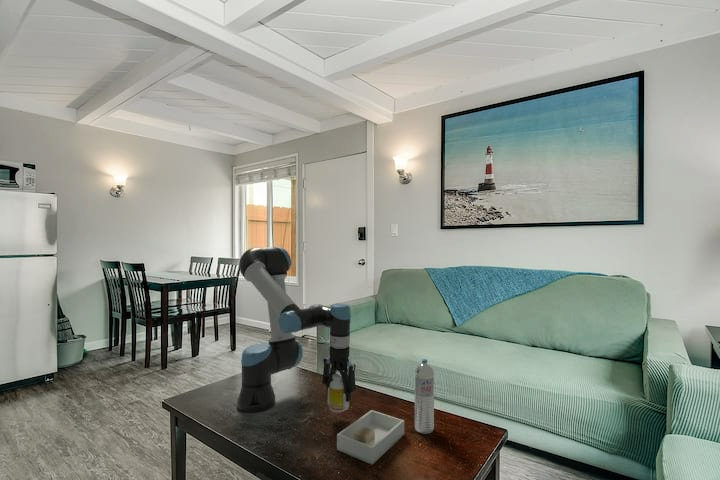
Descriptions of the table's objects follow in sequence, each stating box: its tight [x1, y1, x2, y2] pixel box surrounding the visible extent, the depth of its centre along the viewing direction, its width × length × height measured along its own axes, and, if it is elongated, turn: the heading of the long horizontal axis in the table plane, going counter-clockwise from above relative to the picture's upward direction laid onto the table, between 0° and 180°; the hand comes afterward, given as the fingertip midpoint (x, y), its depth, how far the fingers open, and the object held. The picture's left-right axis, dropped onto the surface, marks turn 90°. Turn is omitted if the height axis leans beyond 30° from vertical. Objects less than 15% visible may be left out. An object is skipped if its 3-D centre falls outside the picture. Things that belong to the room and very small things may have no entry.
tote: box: [336, 409, 405, 466], centre depth 124 cm, size 14×21×5 cm, turn 145°
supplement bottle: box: [328, 372, 345, 414], centre depth 139 cm, size 7×7×13 cm
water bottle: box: [414, 358, 435, 435], centre depth 132 cm, size 7×7×25 cm
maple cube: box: [353, 426, 375, 446], centre depth 120 cm, size 5×5×5 cm
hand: (338, 406), depth 139 cm, fingers closed on supplement bottle, 7 cm apart
